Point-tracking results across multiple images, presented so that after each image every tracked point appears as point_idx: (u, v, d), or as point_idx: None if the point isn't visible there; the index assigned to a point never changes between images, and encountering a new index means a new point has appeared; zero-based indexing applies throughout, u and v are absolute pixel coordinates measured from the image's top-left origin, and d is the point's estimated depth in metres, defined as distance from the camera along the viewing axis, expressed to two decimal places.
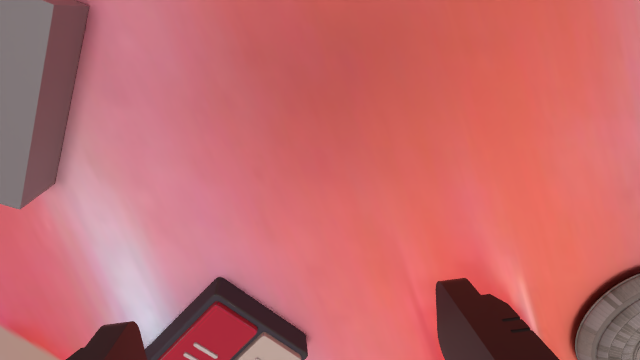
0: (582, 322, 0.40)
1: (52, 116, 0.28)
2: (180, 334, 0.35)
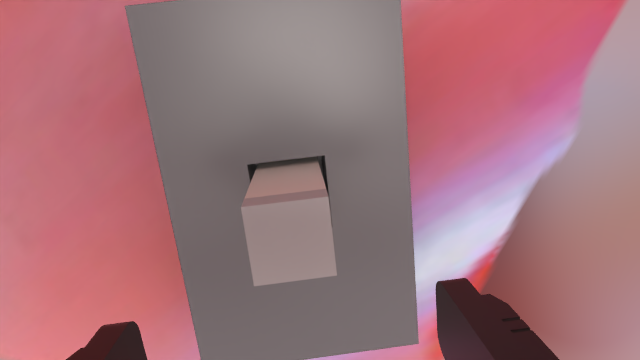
0: None
1: None
2: None
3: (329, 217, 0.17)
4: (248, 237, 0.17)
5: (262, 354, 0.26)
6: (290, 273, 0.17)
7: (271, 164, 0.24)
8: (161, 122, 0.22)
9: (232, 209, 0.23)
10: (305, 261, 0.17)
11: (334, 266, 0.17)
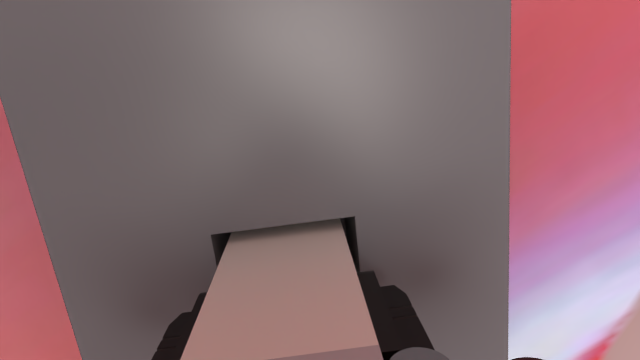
0: None
1: None
2: None
3: None
4: None
5: None
6: None
7: None
8: (42, 159, 0.11)
9: None
10: None
11: None
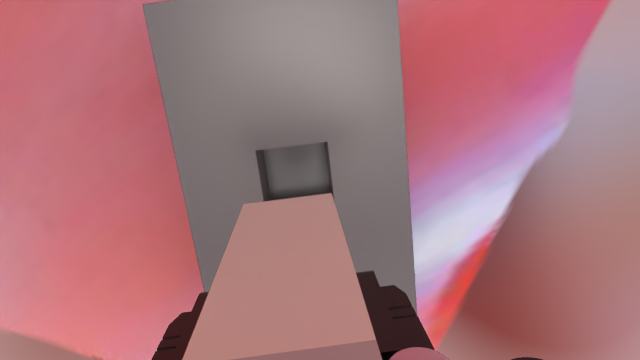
0: None
1: None
2: None
3: None
4: None
5: None
6: None
7: (258, 227, 0.14)
8: (176, 111, 0.24)
9: (242, 193, 0.25)
10: None
11: None
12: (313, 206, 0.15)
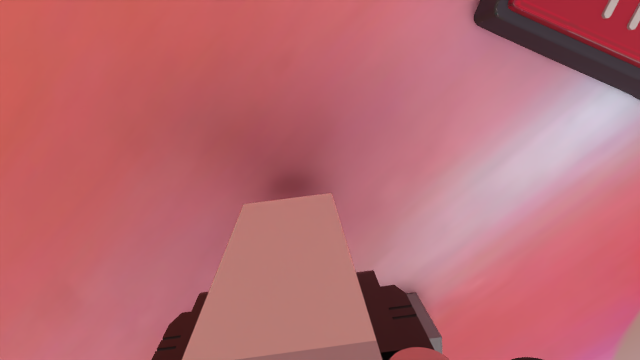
0: None
1: None
2: (590, 49, 0.20)
3: None
4: None
5: None
6: None
7: (258, 227, 0.14)
8: None
9: None
10: None
11: None
12: (313, 206, 0.15)
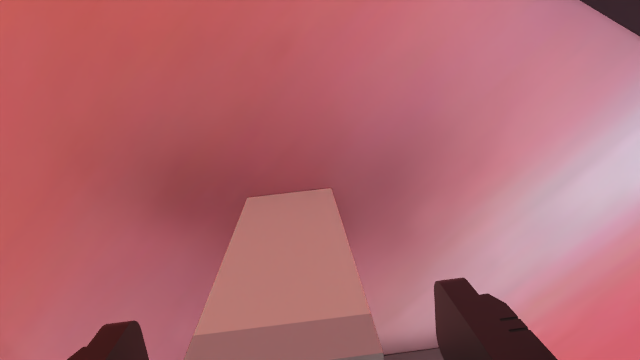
0: None
1: None
2: None
3: None
4: None
5: None
6: None
7: (262, 218, 0.14)
8: None
9: None
10: None
11: None
12: (313, 200, 0.16)
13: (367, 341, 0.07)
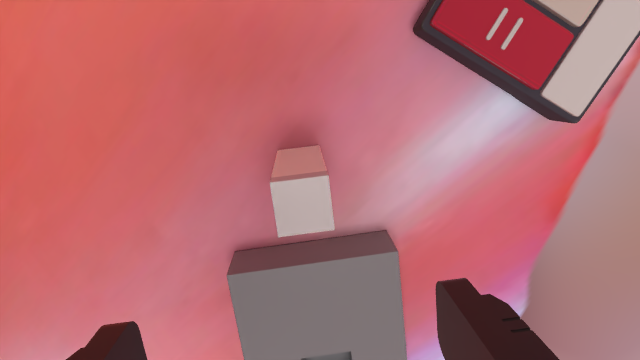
0: None
1: (318, 250, 0.35)
2: (479, 58, 0.31)
3: (329, 189, 0.25)
4: (274, 203, 0.25)
5: None
6: (302, 228, 0.25)
7: (286, 155, 0.32)
8: (246, 337, 0.34)
9: None
10: (313, 220, 0.25)
11: (333, 223, 0.25)
12: (310, 149, 0.33)
13: (324, 174, 0.25)
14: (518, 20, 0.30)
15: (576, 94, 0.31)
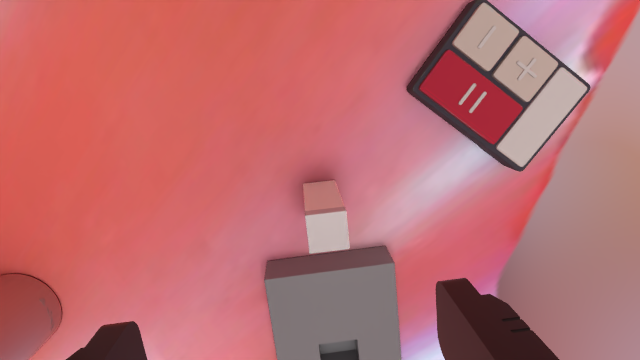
0: None
1: (332, 261, 0.45)
2: (452, 116, 0.41)
3: (346, 220, 0.35)
4: (308, 229, 0.35)
5: None
6: (327, 247, 0.36)
7: (311, 189, 0.42)
8: (277, 327, 0.44)
9: None
10: (334, 241, 0.36)
11: (348, 244, 0.36)
12: (328, 184, 0.44)
13: (343, 209, 0.35)
14: (483, 92, 0.40)
15: (522, 150, 0.42)
